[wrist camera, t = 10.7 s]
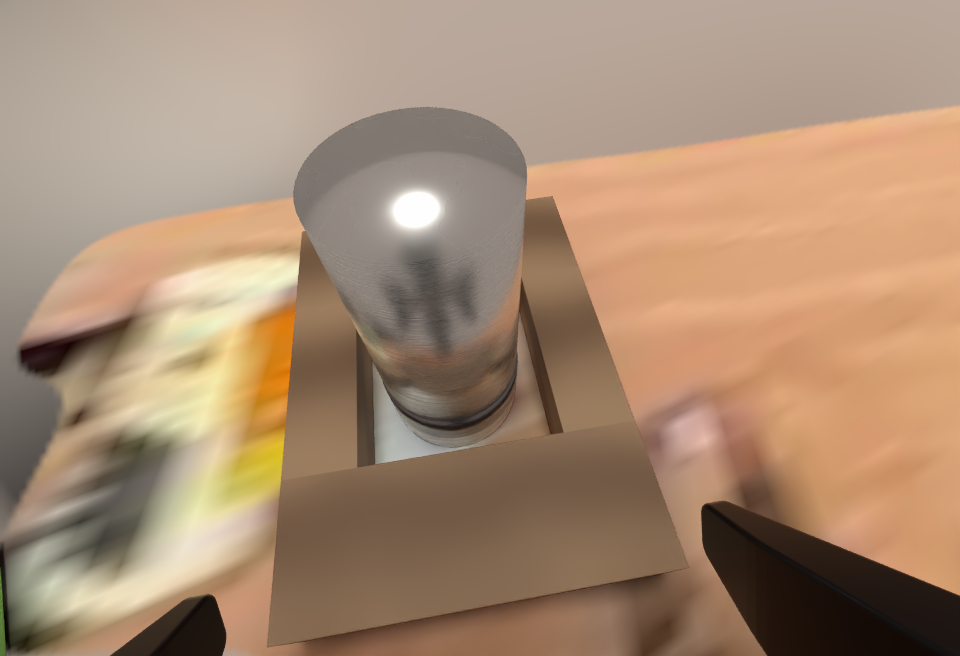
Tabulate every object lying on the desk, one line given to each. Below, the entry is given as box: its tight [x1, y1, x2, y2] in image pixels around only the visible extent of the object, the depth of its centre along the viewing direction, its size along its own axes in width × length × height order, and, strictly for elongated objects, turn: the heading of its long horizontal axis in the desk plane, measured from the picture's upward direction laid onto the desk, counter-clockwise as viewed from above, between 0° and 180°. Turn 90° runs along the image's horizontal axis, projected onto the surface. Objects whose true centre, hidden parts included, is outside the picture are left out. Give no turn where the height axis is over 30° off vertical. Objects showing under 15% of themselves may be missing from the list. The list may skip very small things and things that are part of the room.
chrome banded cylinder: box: [294, 107, 527, 447], centre depth 14 cm, size 5×5×11 cm
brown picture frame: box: [267, 196, 689, 647], centre depth 18 cm, size 16×12×2 cm
